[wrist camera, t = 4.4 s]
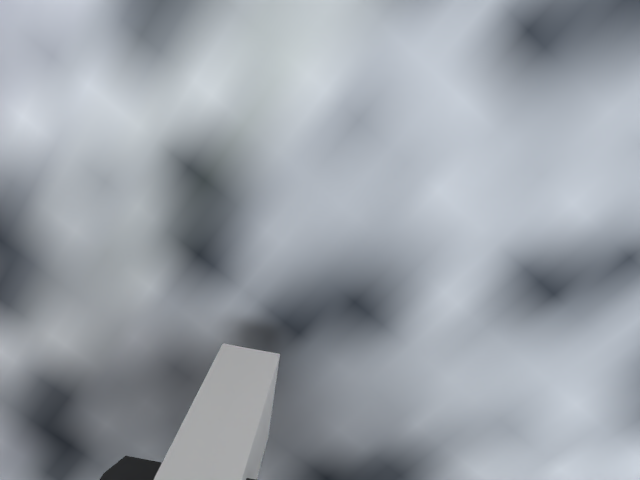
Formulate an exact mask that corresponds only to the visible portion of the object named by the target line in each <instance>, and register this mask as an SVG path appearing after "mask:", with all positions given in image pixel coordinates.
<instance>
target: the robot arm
mask: <svg viewBox="0 0 640 480" xmlns="http://www.w3.org/2000/svg"><path fill="white" fill-rule="evenodd" d="M279 358H280V354H278V353H272V352H267V351H261V350H256V349H251V348H245V347H240V346H234V345H229V344H222V346H221V348H220V350H219V352H218V354H217V356H216V357H215V359H214V361H213V363H212V365H211V367H210V369H209V371H208V373H207V375H206V377H205V379H204V381H203V383H202V385H201V387H200V389H199V391H198V393H197V395H196V397H195V399H194V401H193V403H192V405H191V407H190V409H189V411H188V413H187V415H186V417H185V419H184V421H183V423H182V424H181V426H180V428H179V430H178V432H177V434H176V436H175V438H174V440H173V442H172V444H171V446H170V448H169V450H168V452H167V454H166V456H165V458H164V460H163V462H162V463H160V462H155V461H150V460H145V459H140V458H134V457H129V456H125V457H124V458H123V459H121V460H120V461H119V462H118V463H116V464H115V465H114V466H113V467H111V468H110V469H109V470H108V471H106V472H105V473H104V474H103V475H102V477H101V479H100V480H257V478H258V474H259V470H260V467H261V463H262V459H263V456H264V452H265V448H266V444H267V441H268V437H269V430H270V423H271V416H272V408H273V401H274V394H275V387H276V380H277V373H278V366H279Z"/></svg>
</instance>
